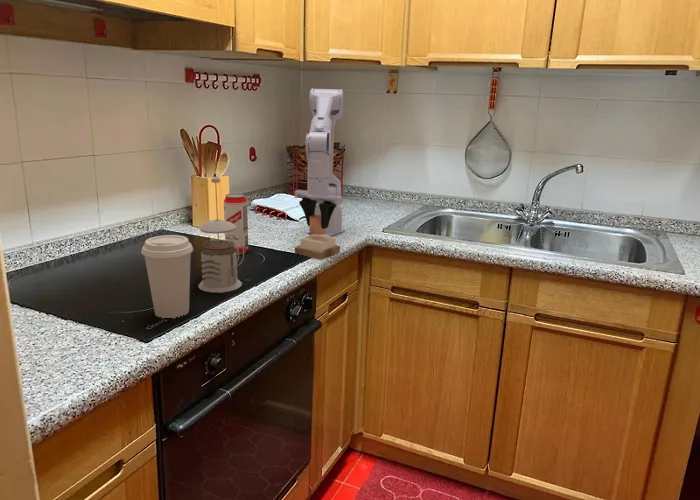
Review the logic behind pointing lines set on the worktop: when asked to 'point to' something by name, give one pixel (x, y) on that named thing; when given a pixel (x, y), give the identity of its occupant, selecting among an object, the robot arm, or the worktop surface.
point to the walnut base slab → (317, 252)
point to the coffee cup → (169, 274)
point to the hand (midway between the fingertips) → (317, 226)
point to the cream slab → (317, 242)
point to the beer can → (237, 220)
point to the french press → (224, 275)
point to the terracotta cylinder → (316, 225)
